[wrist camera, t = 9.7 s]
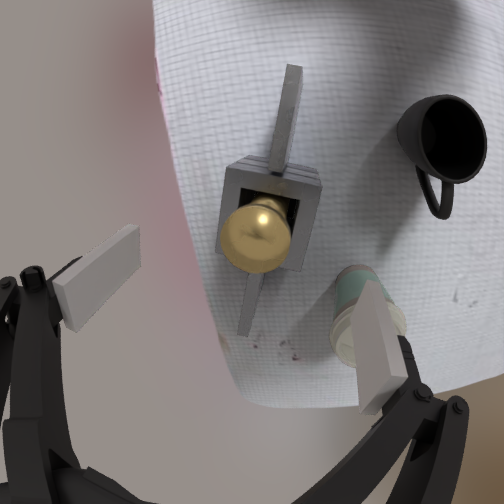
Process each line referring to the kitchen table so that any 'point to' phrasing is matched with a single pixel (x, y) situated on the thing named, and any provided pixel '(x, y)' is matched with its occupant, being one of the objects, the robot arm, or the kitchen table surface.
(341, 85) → the kitchen table surface
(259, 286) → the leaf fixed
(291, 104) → the grey piece
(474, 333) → the kitchen table surface
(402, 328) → the coffee cup
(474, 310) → the kitchen table surface
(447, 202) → the mug
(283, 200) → the pin
